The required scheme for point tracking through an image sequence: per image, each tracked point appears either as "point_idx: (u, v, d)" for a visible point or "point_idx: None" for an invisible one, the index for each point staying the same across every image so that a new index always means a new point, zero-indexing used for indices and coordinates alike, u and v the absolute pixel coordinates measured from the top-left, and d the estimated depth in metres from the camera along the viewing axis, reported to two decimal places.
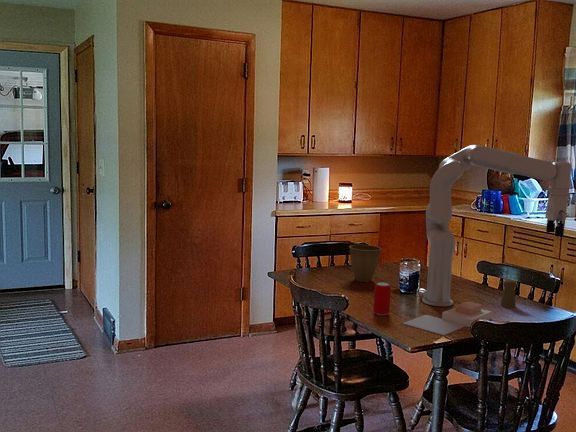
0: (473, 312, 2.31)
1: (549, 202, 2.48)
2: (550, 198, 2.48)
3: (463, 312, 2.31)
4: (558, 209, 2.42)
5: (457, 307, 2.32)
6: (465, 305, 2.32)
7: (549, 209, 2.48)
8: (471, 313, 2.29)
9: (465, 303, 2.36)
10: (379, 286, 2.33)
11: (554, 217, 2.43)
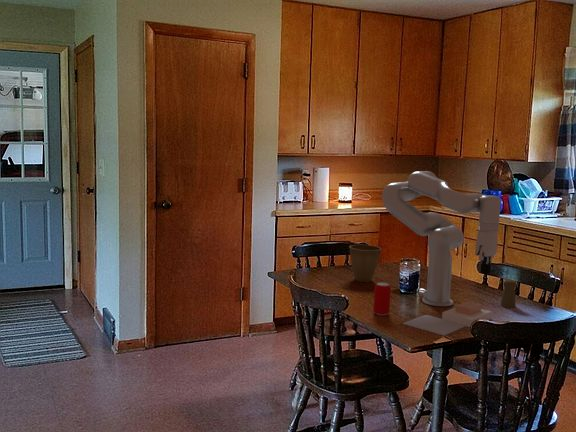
0: (473, 312, 2.31)
1: None
2: None
3: (463, 312, 2.31)
4: (478, 244, 2.35)
5: (457, 307, 2.32)
6: (465, 305, 2.32)
7: None
8: (471, 313, 2.29)
9: (465, 303, 2.36)
10: (379, 286, 2.33)
11: (475, 252, 2.37)
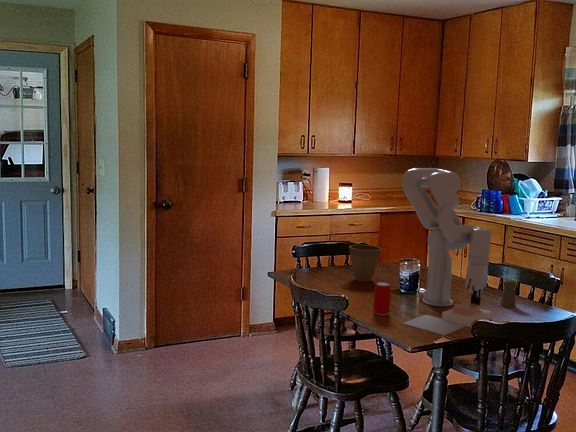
0: (471, 313, 2.30)
1: None
2: None
3: (461, 312, 2.30)
4: (468, 277, 2.33)
5: (455, 307, 2.31)
6: (463, 306, 2.32)
7: None
8: (469, 314, 2.29)
9: (463, 303, 2.35)
10: (379, 286, 2.33)
11: (465, 285, 2.34)
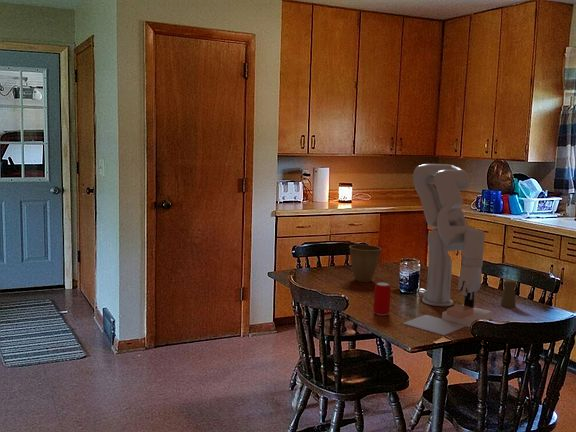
0: (465, 315, 2.26)
1: None
2: None
3: (454, 315, 2.26)
4: (461, 279, 2.29)
5: (448, 310, 2.27)
6: (456, 309, 2.28)
7: None
8: (462, 316, 2.25)
9: (456, 306, 2.32)
10: (379, 286, 2.33)
11: (458, 287, 2.30)
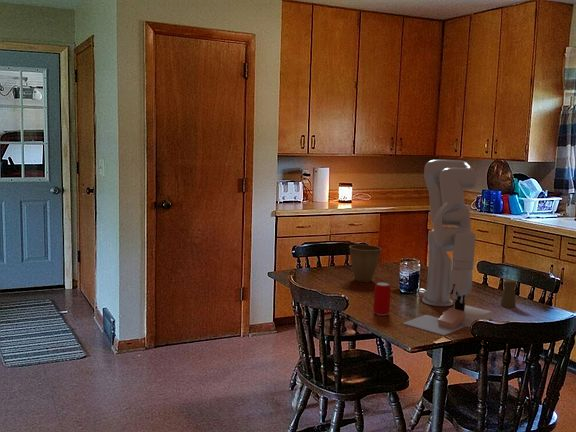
0: (456, 324, 2.22)
1: None
2: None
3: (446, 326, 2.22)
4: (451, 282, 2.24)
5: (439, 321, 2.23)
6: (447, 317, 2.23)
7: None
8: (454, 326, 2.21)
9: (447, 312, 2.27)
10: (379, 286, 2.33)
11: (448, 290, 2.25)
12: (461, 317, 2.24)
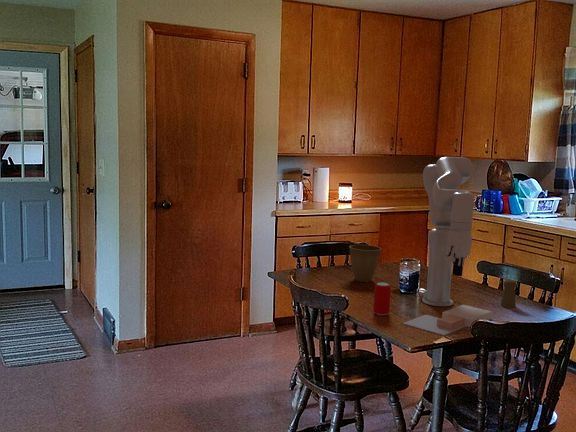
0: (455, 326, 2.21)
1: None
2: None
3: (444, 326, 2.21)
4: (449, 244, 2.19)
5: (438, 321, 2.22)
6: (446, 319, 2.23)
7: None
8: (453, 327, 2.20)
9: (447, 316, 2.27)
10: (379, 286, 2.33)
11: (446, 252, 2.21)
12: (460, 322, 2.24)
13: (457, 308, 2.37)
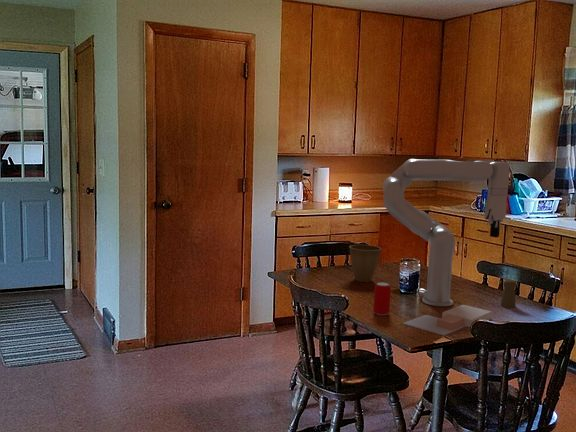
0: (455, 326, 2.21)
1: None
2: None
3: (444, 326, 2.21)
4: (487, 208, 2.46)
5: (438, 321, 2.22)
6: (446, 319, 2.23)
7: None
8: (453, 327, 2.20)
9: (447, 316, 2.27)
10: (379, 286, 2.33)
11: None
12: (460, 322, 2.24)
13: (457, 308, 2.37)
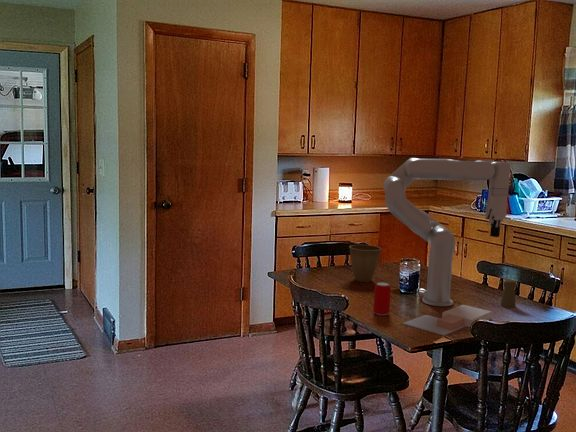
0: (455, 326, 2.21)
1: None
2: None
3: (444, 326, 2.21)
4: (488, 207, 2.46)
5: (438, 321, 2.22)
6: (446, 319, 2.23)
7: None
8: (453, 327, 2.20)
9: (447, 316, 2.27)
10: (379, 286, 2.33)
11: (485, 215, 2.48)
12: (460, 322, 2.24)
13: (457, 308, 2.37)
